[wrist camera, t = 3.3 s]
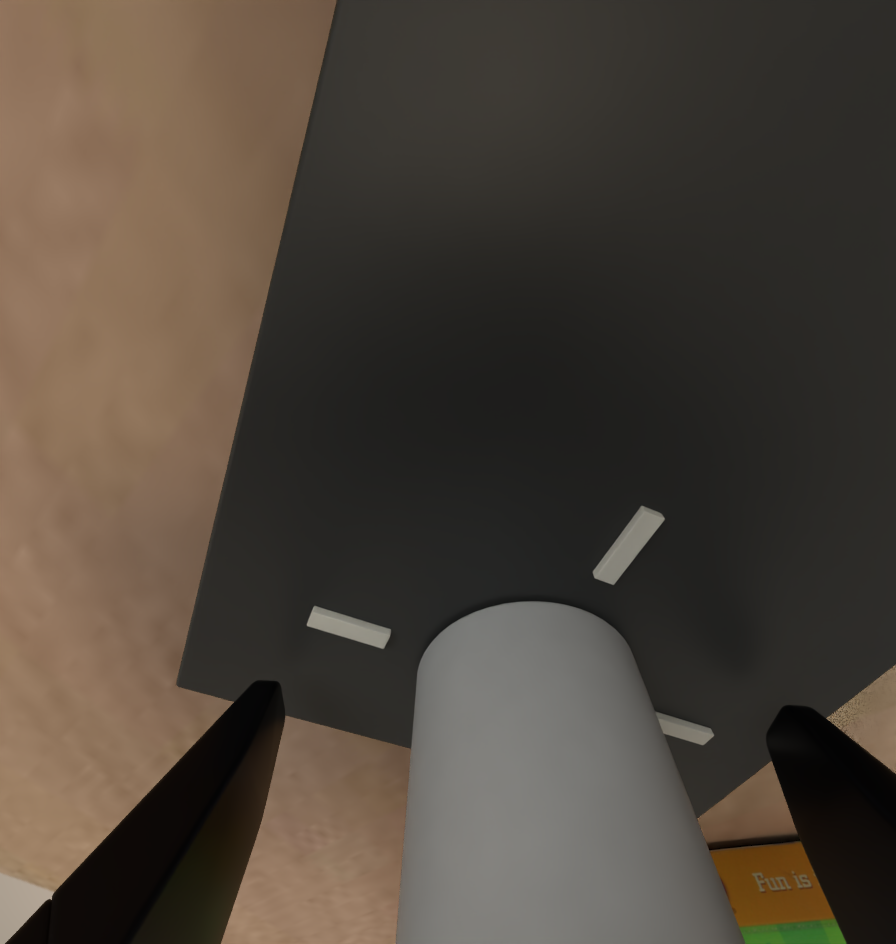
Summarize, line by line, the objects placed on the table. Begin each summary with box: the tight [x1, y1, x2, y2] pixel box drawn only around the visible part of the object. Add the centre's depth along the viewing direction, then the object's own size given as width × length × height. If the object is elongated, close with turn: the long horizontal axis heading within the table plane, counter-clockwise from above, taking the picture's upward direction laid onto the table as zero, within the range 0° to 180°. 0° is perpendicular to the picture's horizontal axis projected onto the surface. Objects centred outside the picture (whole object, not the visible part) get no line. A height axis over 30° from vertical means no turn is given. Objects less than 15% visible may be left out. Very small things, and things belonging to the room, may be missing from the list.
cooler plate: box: [176, 0, 896, 818], centre depth 8 cm, size 12×19×3 cm, turn 157°
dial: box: [396, 601, 746, 944], centre depth 7 cm, size 4×4×5 cm
